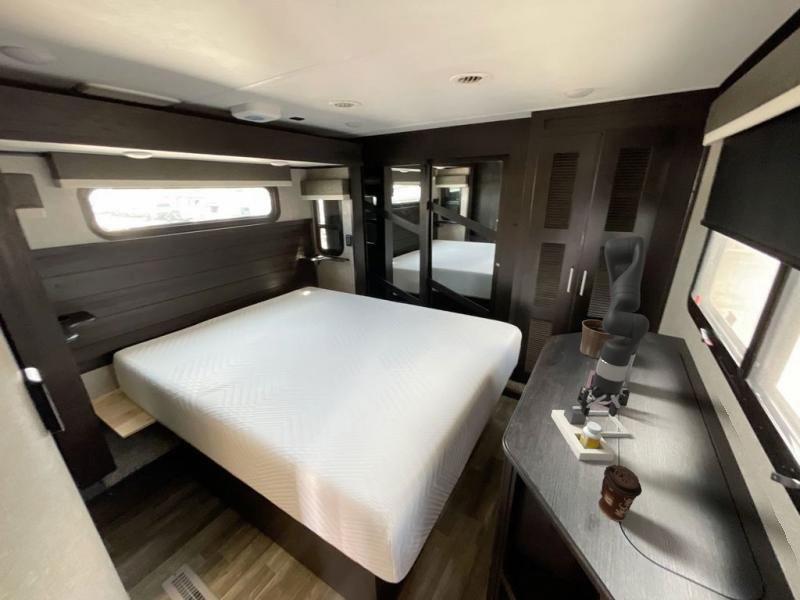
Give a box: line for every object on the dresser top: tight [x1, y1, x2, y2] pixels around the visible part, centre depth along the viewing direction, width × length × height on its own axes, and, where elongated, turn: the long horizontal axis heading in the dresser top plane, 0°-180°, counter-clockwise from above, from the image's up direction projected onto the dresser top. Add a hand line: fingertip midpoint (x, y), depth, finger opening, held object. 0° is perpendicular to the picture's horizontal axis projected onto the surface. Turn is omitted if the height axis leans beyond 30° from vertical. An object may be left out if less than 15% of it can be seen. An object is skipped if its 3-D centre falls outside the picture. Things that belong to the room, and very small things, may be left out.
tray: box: [588, 410, 631, 438], centre depth 113 cm, size 12×12×2 cm
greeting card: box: [585, 369, 625, 411], centre depth 122 cm, size 11×7×15 cm, turn 47°
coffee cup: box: [598, 464, 643, 522], centre depth 82 cm, size 9×8×13 cm
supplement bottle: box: [579, 421, 602, 449], centre depth 102 cm, size 5×5×10 cm
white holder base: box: [551, 403, 616, 462], centre depth 107 cm, size 11×20×9 cm, turn 179°
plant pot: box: [579, 319, 617, 360], centre depth 159 cm, size 16×16×16 cm
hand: (597, 414), depth 98 cm, fingers open, 8 cm apart
